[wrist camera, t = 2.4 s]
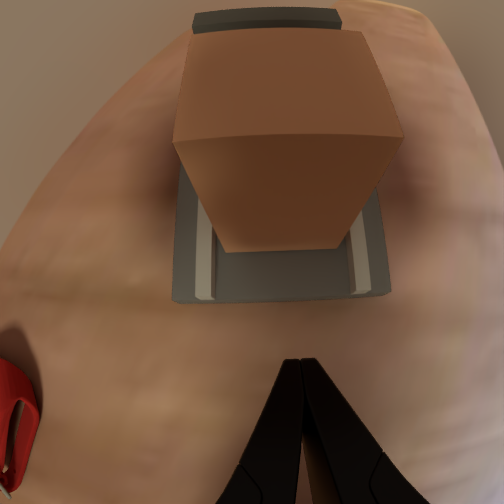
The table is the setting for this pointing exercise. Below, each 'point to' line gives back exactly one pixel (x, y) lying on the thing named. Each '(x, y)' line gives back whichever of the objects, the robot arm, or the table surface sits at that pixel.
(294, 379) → the robot arm
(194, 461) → the table surface
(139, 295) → the table surface
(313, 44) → the brown block
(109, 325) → the table surface
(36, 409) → the red tape dispenser
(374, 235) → the guide track
